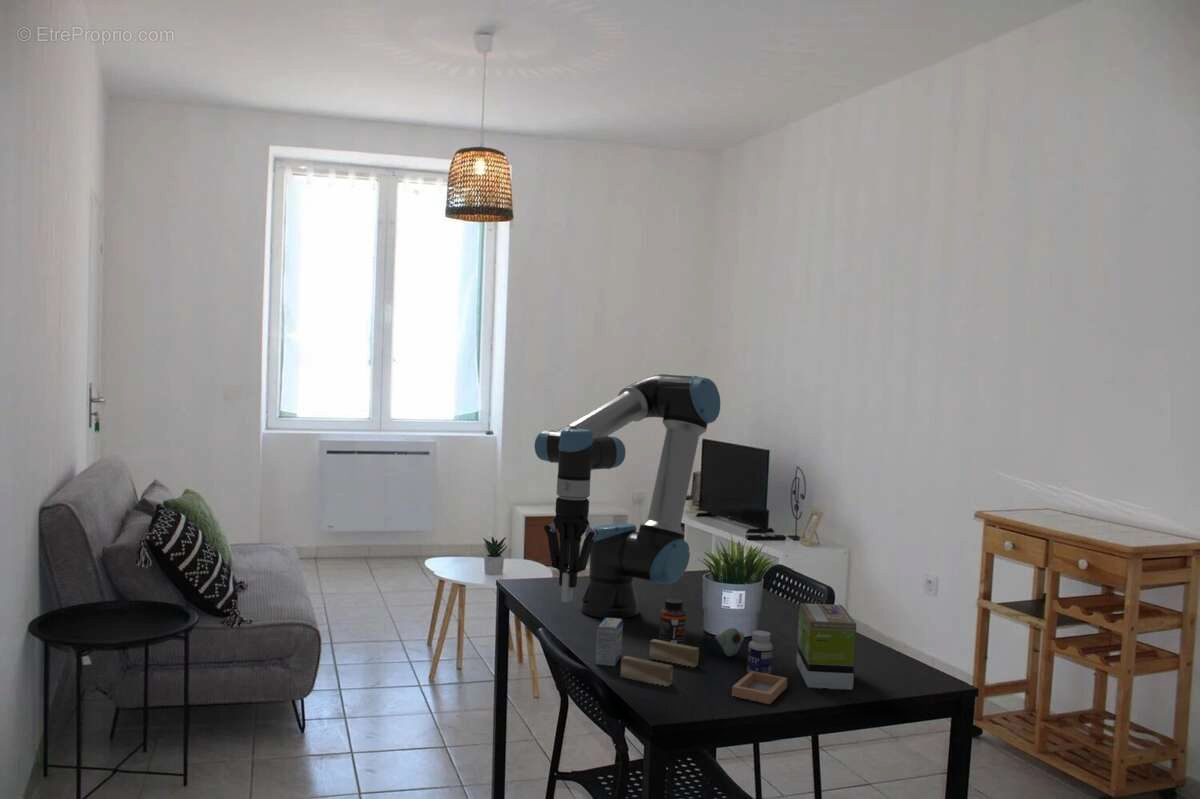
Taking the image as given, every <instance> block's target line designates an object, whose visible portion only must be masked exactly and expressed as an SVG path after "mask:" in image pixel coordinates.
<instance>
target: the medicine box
mask: <svg viewBox="0 0 1200 799" xmlns="http://www.w3.org/2000/svg"><path fill="white" fill-rule="evenodd" d="M623 628H624V620H623V618H621V619H616V618H603V620H602V621H601V622H600V624H599V625H597V628H596V629H597V630H596V650H595V651H596V652H595V665H599V666H605V667H606V666H608V667H615V666H617V663H618V662H619V660H620V659H621V658H622V657H621V656H622V650H623V649H622V648H623V630H624V629H623Z"/></svg>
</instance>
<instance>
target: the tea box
mask: <svg viewBox="0 0 1200 799" xmlns="http://www.w3.org/2000/svg"><path fill="white" fill-rule="evenodd" d="M798 607H799V611H798V626H797V628H798V629H797V630H798V632H797V649H796V650H797V651H796V652H797V653H796V666H797V668H798V669H799V671H800V674H801V677H802V678H803V680H804V683H805V685H806V686H807V688H809V689H810V688H811V689H823V688H826V689H827V688H828V690H844V689H845V690H846V691H847V690H849V691H850V690H853V688H854V680H855V679H854V678H855V677H854V675H855V658H856V657H855V656H856V638H857V623H856V621H855V620H854V618H852V616H851V615H850V613H848V611H847V610H846V609H845V608H846V607H844V606H843V605H842V604H828V603H827V604H824V603H823V604H821V603H802V602H799V606H798ZM826 689H825V690H826Z"/></svg>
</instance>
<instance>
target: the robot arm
mask: <svg viewBox="0 0 1200 799" xmlns="http://www.w3.org/2000/svg"><path fill="white" fill-rule="evenodd" d="M720 412H721V397H720V392H719V389H718V387H717V385H716V383H715V382H714V381H713V380H712V379H710V378H708V377H702V376H697V375H676V374H668V373H667V374H664V373H662V374H654V375H651V376H648V377H645V378H643V379H640V380H637V381H635V382H634V383H631V384H629V385H627V386H626V387H623V389H621V390H620V391H619V393H618V394H617V396H616V397H614V398H613V399H611V400H609V401H607V402H605V403H603V404H602V405H601V406H599V407H597V408H595V409H594V410H592V411H589V412H588V413H586V414H584V415H583V416H581V417H579V418H578V419H576V420H574V421H572V422H571V423H569V424H567V425H566V426H563V427H561V428H560V429H557V430H553V429H550V430H548V429H547V430H542V431H540V432H539V433H538V434H537V436H536V437H535V439H534V440H535V441H534V453H535V454H536V457H538V459H540V460H541V461H546V462H549V463H556V464H558V466H557V478H556V495H557V496H558V497H556V499H555V508H554V509H555V510H554V511H555V512H554V513H555V517H554V518H553V522H550V524H546V525H544V526H543V529H544V531H545V534H546V535H547V541H548V549H549V556H550V560H551V567H552V568H553V569H557V570H558V572H559V575H558V576H559V577H558V579H559V580H558V585H559V586H561V596H560V602H562V603H569V602H571V601H573V598H574V588H576V587H577V583H578V582H577V581H578V573H581V572H584V571H585V570H586V568H587V565H588V562H589V572H588V573H589V574H588V575H589V576H588V577H589V579H588V583H587V586H586V589H585V591H584V593H583V596H582V599H581V601H580V602H581V603H580V611H581V613H583V614H585V615H588V616H591V617H595V618H601V619H604V618H616V619H628V618H632V617H636V616H637V615H638V614H639V602H638V598H637V597H638V596H637V594H636V589H635V586H634V579H639V580H643V581H649V582H652V583H654V584H664V585H670V584H674V583H676V582H678V580H679V579H681V578H682V576H683V575H684V574H685V572H686V570H687V568H688V565H689V562H690V556H691V552H690V546H689V544H688V542H687V541H686V540H685V535H686V534H685V532H684V530H683V529H682V527H681V525H682V521H683V516H684V511H685V505H686V502H687V501H686V500H687V497H688V491H689V486H690V482H691V479H692V478H691V477H692V473H693V469H694V468H693V467H694V463H695V458H696V457H695V456H696V453H697V448H698V444H699V438H700V436H701V435H703V434H705V433H706V432H707V429H708V424H713V423H714V422H715V421H717V419H718V417H719V414H720ZM646 418H647V419H648V418H663V419H662V424H663V426H664V428H665V429H666V432H665V436H664V441H663V446H662V450H661V454H660V455H661V456H660V460H659V464H658V470H657V473H656V477H655V478H656V479H655V483H654V488H653V491H652V492H653V493H652V497H651V502H650V507H649V511H648V515H647V519H646V520H644V521H643V522H642V523H641V524H639V529H638V531H637V526H636V525H635V524H634V523H624V522H623V523H608V524H607V523H606V524H601V525H597V526H595V527H593V528H592V527H591V526H590V522H589V518H588V517H589V511H590V499H588V498H589V497H590V494H591V478H592V477H591V476H592V475H591V474H592V470H605V469H606V470H610V469H613V468H617V467H619V466H620V465H622V464H623V462H624V461H625V459H626V458H625V457H626V454H627V453H626V446H625V444H624V442H623V441H622V440H621V439H620V438H619V437H617V436H610V435H612V434H614V433H615V432H617V431H618V430H620V429H622V428H624V427H625V426H626V425H629V424H630V423H632V422H636V423H637V422H640V421H642V420H644V419H646ZM557 532H558V533H557ZM558 534H559V537H558ZM583 535H584V536H585V538H584V539H583V542H582V536H583ZM581 542H582V547H581ZM580 547H581V548H580Z"/></svg>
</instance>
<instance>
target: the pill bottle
mask: <svg viewBox="0 0 1200 799" xmlns="http://www.w3.org/2000/svg"><path fill="white" fill-rule="evenodd" d="M771 638H772V637H771V632H769V631H767V630H754V631H752V634H751V639H752V640H750V641H749V643H748V649H747V650H748V651H747V664H746V671H747V673H749V672H750V671H754V672H760V673H765V674H770V675H772V667H773V666H772V665H773V664H772V663H773V651H774V649H773V647H774V646H773V644H772V643H771V642H770V641H771Z"/></svg>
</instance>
